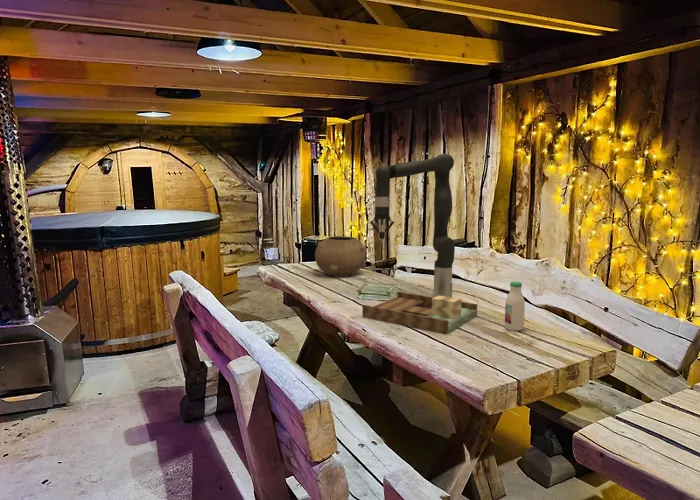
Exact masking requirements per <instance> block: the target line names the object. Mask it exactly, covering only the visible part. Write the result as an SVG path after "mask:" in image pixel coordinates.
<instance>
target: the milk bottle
mask: <svg viewBox="0 0 700 500" xmlns="http://www.w3.org/2000/svg"><path fill="white" fill-rule="evenodd" d="M509 286H510V290H509V293H508V295H507V297H506V298H505V305H504V307H505V309H504V328H505V329H506V330H507V331H508V330H509V331H512V332H518V331H519V332H520V331H522V330H524V326H525V311H526V310H525V308H526V307H525V305H526V303H525V298H524V296H523V295H524V294H523V293H522V286H523V283H522V282H521V281H513V280H512V281H511V282H510V283H509Z"/></svg>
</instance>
